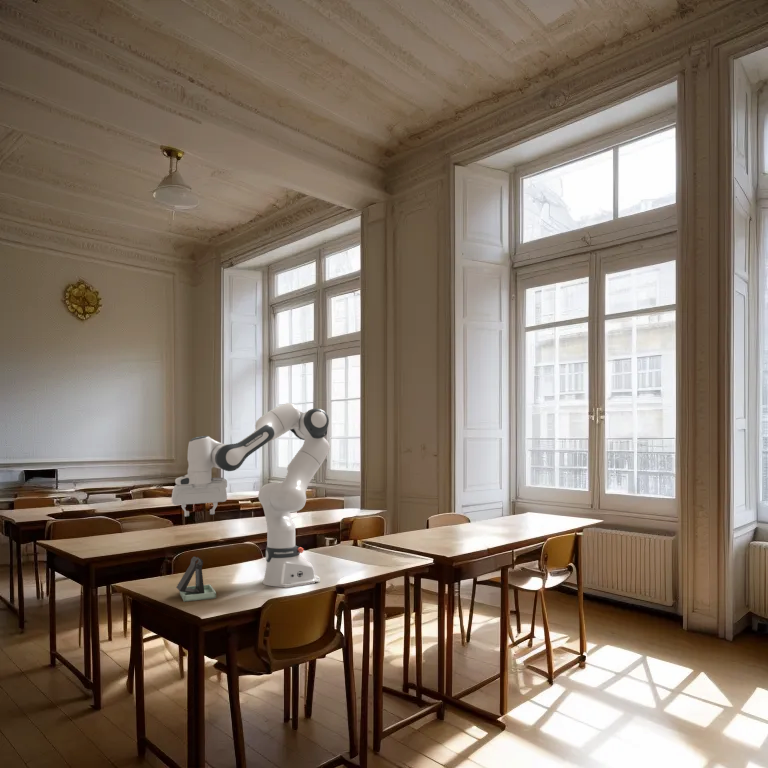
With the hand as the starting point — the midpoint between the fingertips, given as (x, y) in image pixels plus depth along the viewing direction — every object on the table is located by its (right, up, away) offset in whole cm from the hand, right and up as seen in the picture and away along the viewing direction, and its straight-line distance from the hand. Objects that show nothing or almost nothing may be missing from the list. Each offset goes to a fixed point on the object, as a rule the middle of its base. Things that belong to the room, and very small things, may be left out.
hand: (199, 515), depth 244 cm
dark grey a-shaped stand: (-1, -26, -9) cm, 28 cm away
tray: (+2, -28, -9) cm, 29 cm away
